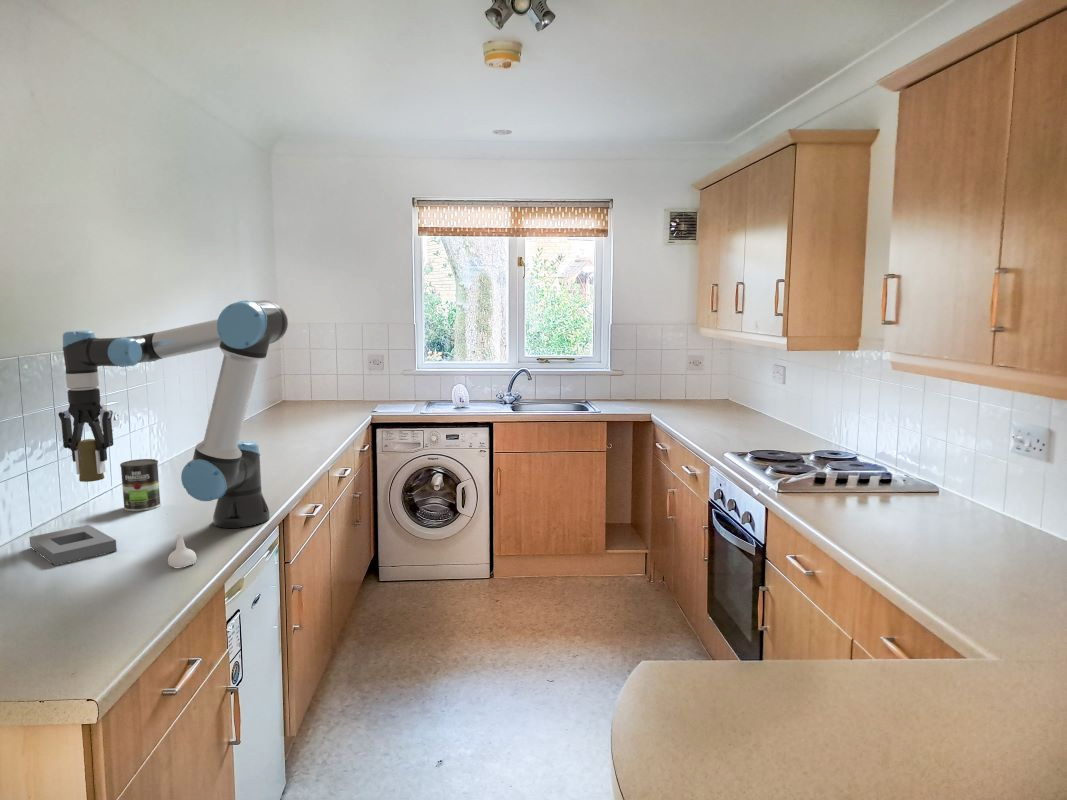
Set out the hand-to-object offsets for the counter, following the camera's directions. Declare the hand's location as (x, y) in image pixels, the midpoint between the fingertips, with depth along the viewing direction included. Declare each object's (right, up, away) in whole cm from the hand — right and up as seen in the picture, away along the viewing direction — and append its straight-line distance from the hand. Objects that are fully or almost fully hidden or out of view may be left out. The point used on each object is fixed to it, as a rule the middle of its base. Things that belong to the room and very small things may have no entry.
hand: (91, 472), depth 212 cm
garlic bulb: (+36, -20, -25) cm, 48 cm away
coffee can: (0, -13, +27) cm, 31 cm away
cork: (0, -2, 0) cm, 2 cm away
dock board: (+2, -19, -12) cm, 23 cm away
